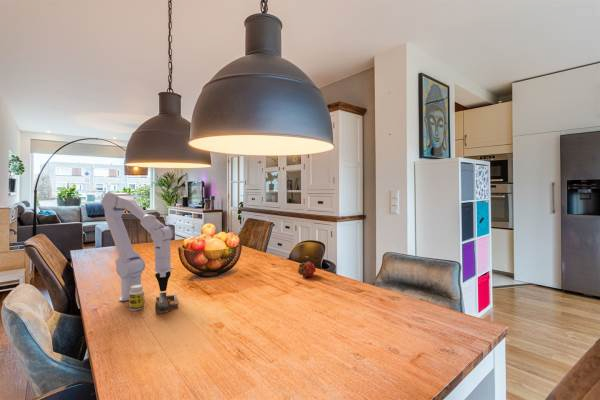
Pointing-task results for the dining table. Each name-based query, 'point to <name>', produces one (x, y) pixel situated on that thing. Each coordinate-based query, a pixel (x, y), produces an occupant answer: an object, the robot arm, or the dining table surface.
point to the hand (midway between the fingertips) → (163, 290)
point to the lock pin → (162, 302)
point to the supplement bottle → (136, 298)
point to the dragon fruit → (307, 269)
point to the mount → (170, 306)
